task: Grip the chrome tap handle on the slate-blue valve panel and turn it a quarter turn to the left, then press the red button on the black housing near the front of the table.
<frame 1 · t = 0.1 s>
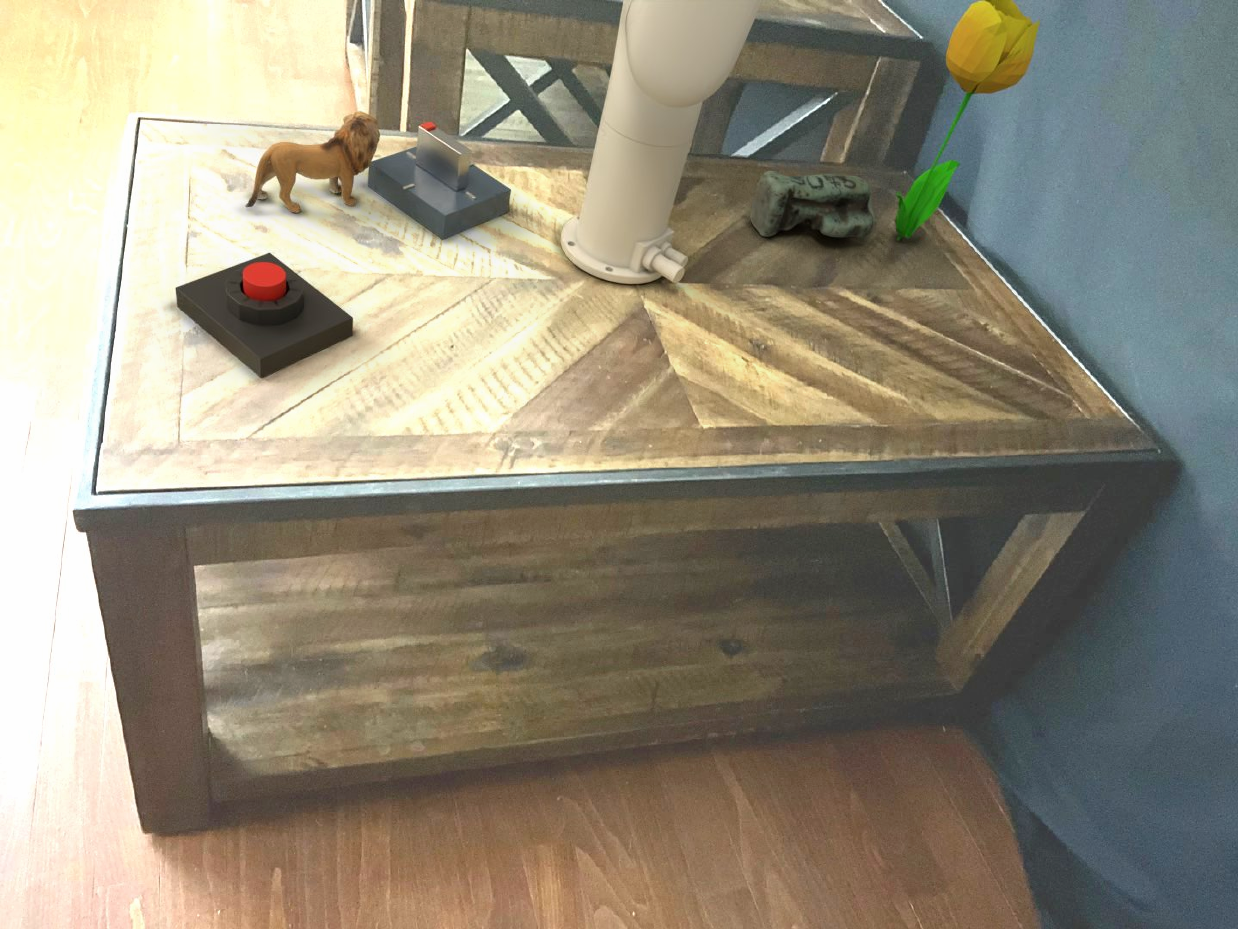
lion figurine: (315, 198, 109), on the table
red button: (264, 281, 90), point 4 cm above the table, slide at 0.1 cm
valve panel: (438, 199, 114), on the table
flower: (898, 241, 130), on the table
tap handle: (442, 155, 110), point 5 cm above the table, hinge at 0.0°
sculpture: (801, 230, 127), on the table
button box: (265, 321, 93), on the table
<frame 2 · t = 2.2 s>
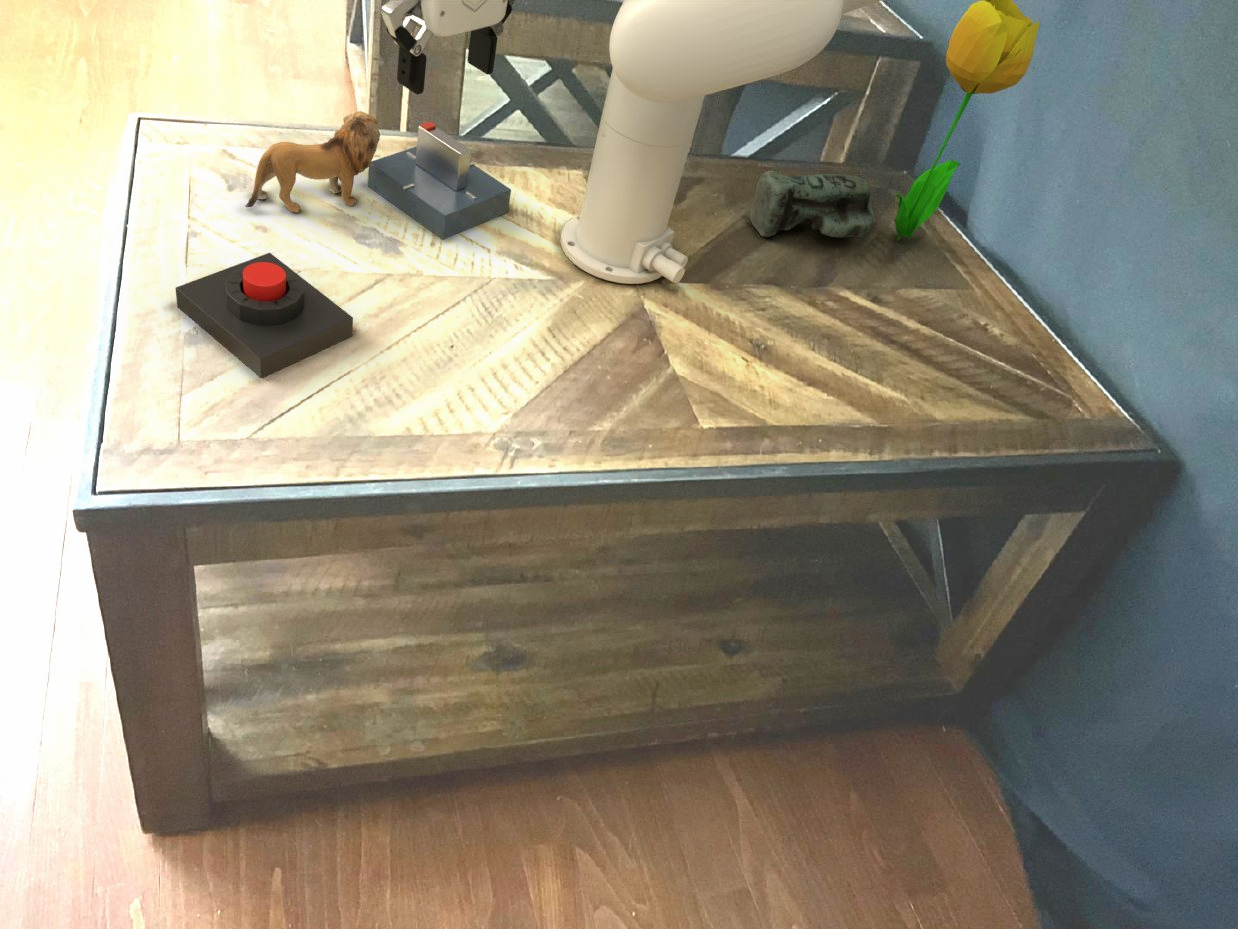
hand: (445, 77, 104), 14 cm above the table, tool pointing down, fingers open, 9 cm apart
nothing on the table moved.
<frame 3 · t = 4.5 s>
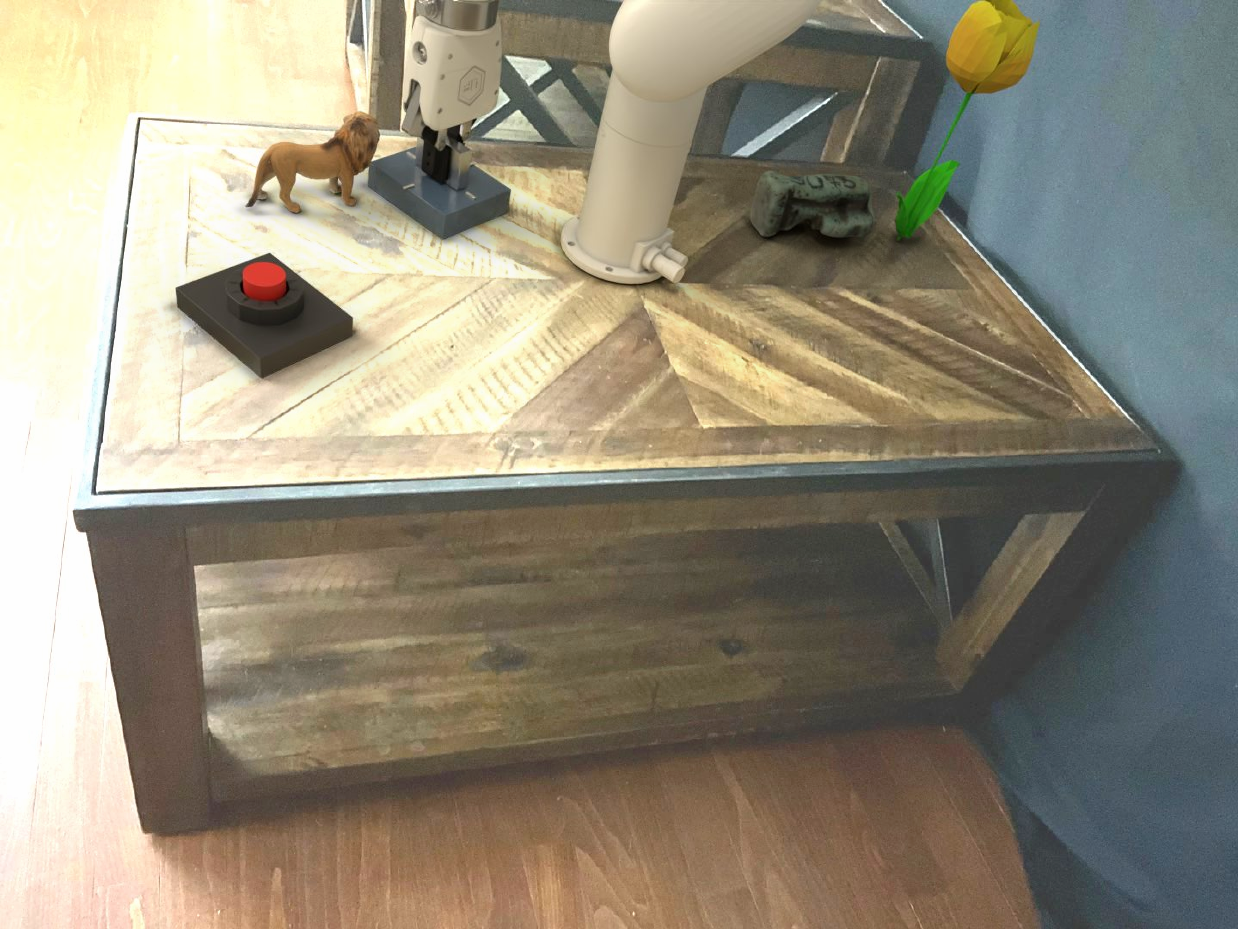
hand: (441, 172, 111), 3 cm above the table, tool pointing down, fingers closed on tap handle
tap handle: (442, 155, 110), point 5 cm above the table, hinge at 1.7°, touching gripper
everything else where it was.
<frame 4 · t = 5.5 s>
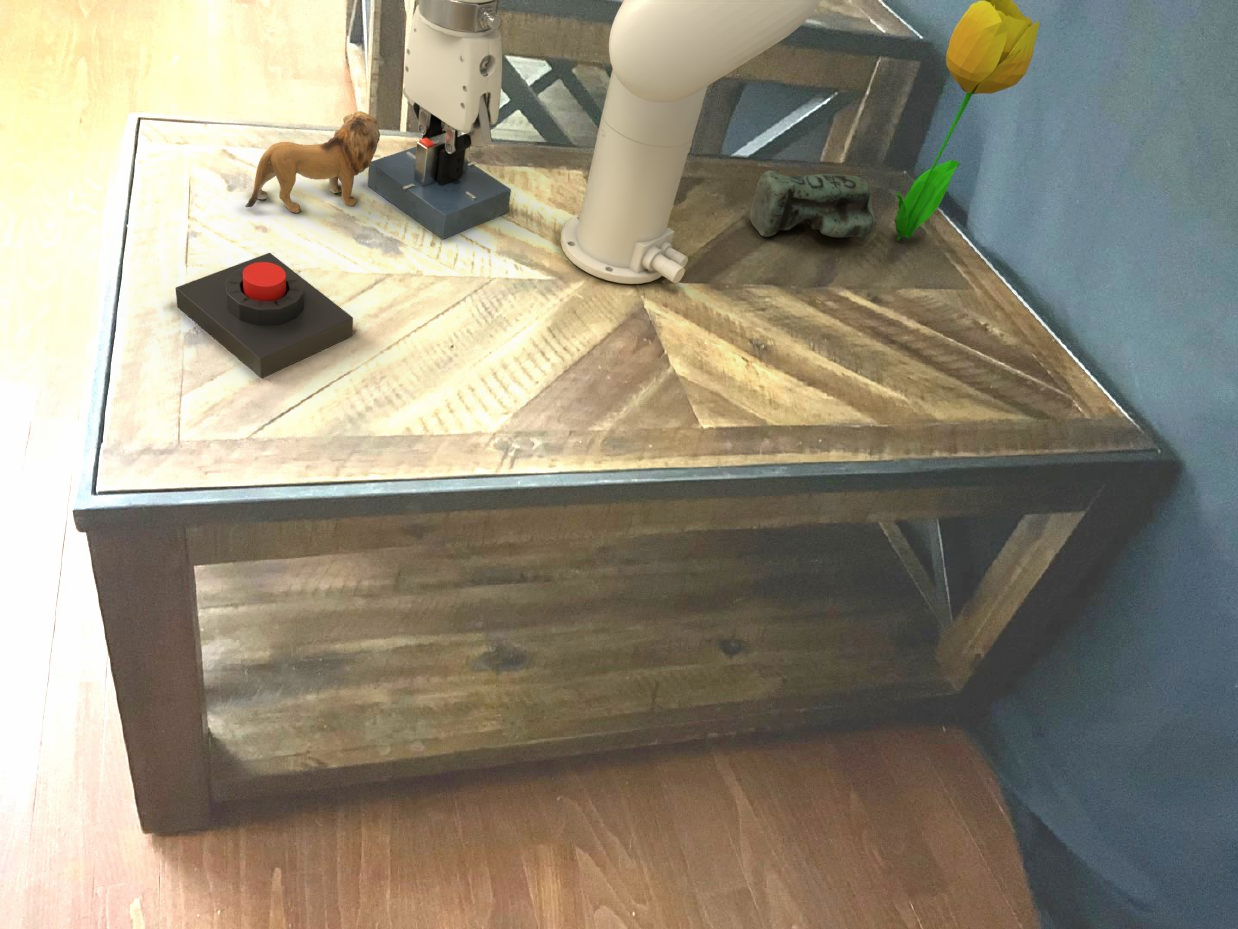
hand: (440, 172, 111), 3 cm above the table, tool pointing down, fingers closed
tap handle: (442, 155, 110), point 5 cm above the table, hinge at 89.4°
everything else where it was.
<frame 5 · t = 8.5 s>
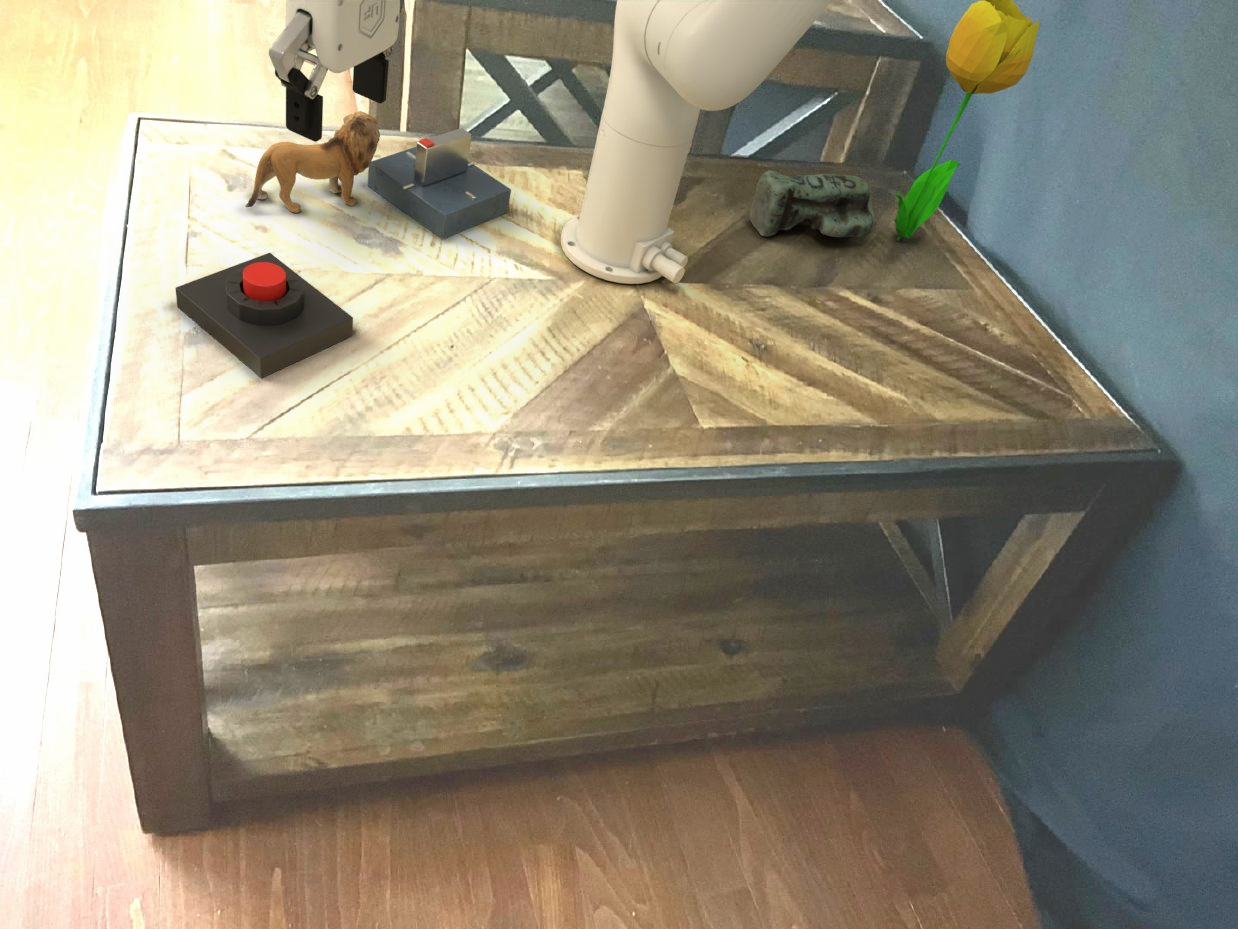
hand: (337, 115, 89), 17 cm above the table, tool pointing down, fingers open, 9 cm apart
nothing on the table moved.
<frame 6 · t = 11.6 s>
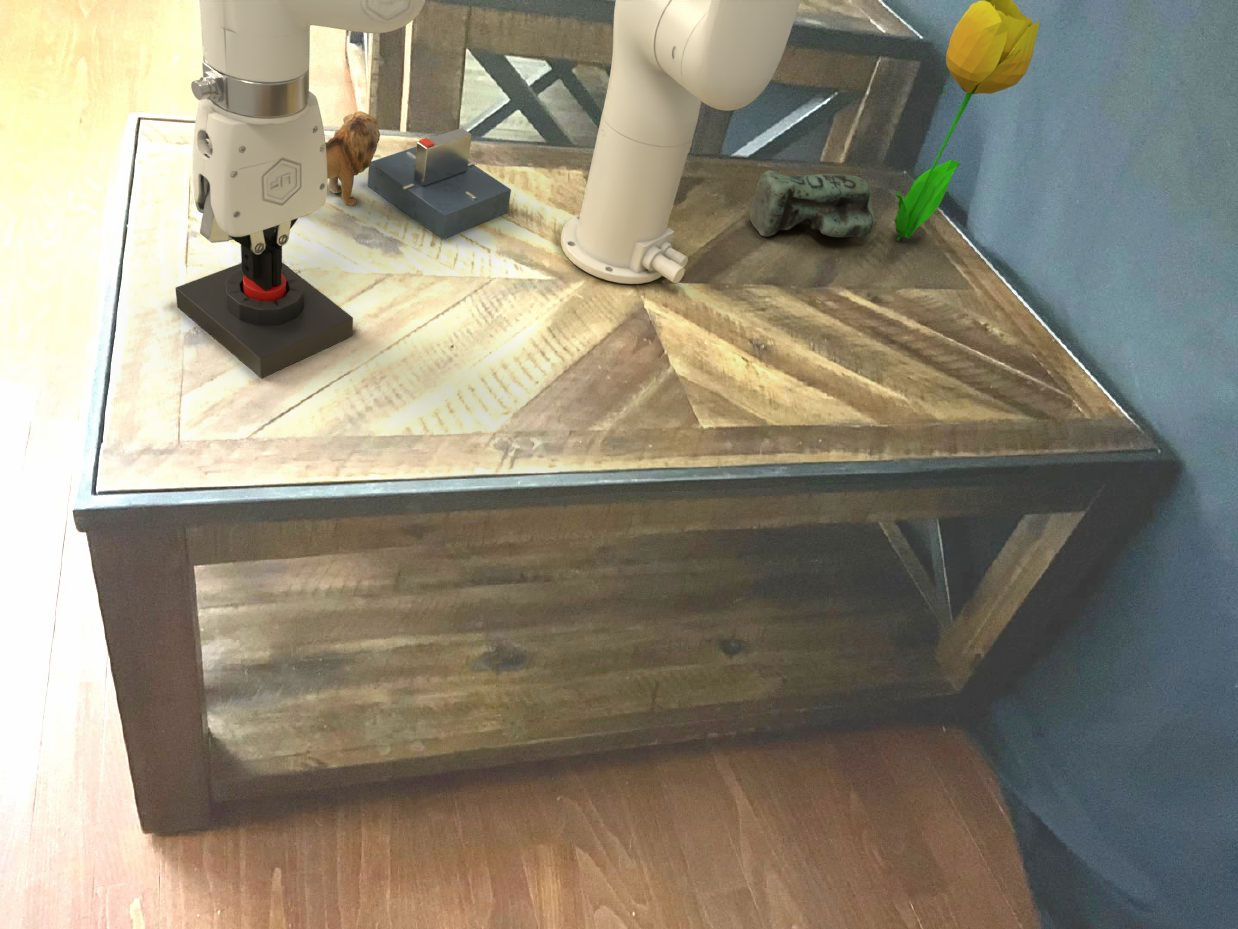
hand: (262, 279, 90), 5 cm above the table, tool pointing down, fingers closed
red button: (264, 287, 91), point 4 cm above the table, slide at -0.5 cm, touching gripper
everything else where it was.
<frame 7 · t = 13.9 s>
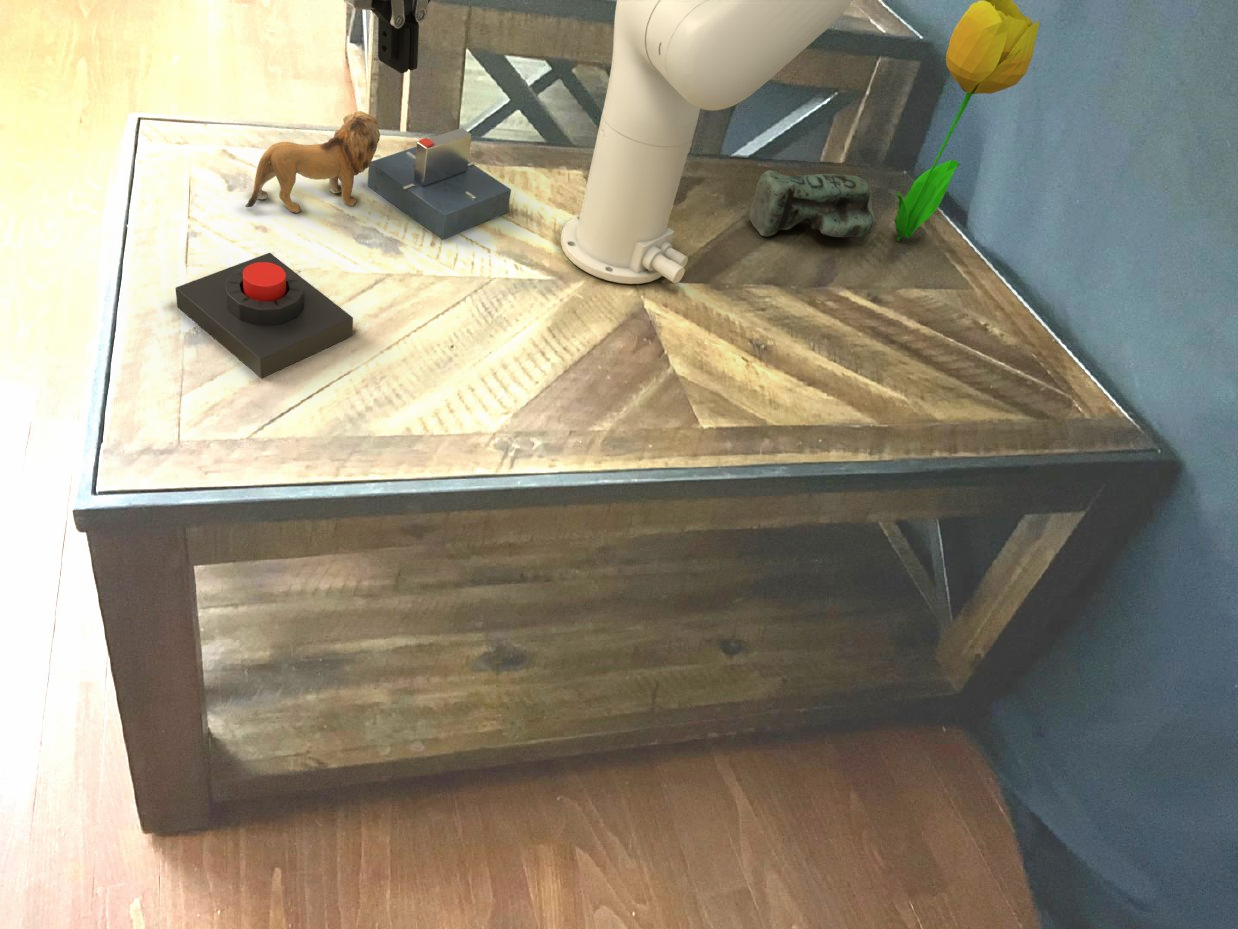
hand: (397, 64, 88), 21 cm above the table, tool pointing down, fingers closed
red button: (264, 281, 90), point 4 cm above the table, slide at 0.1 cm
everything else where it was.
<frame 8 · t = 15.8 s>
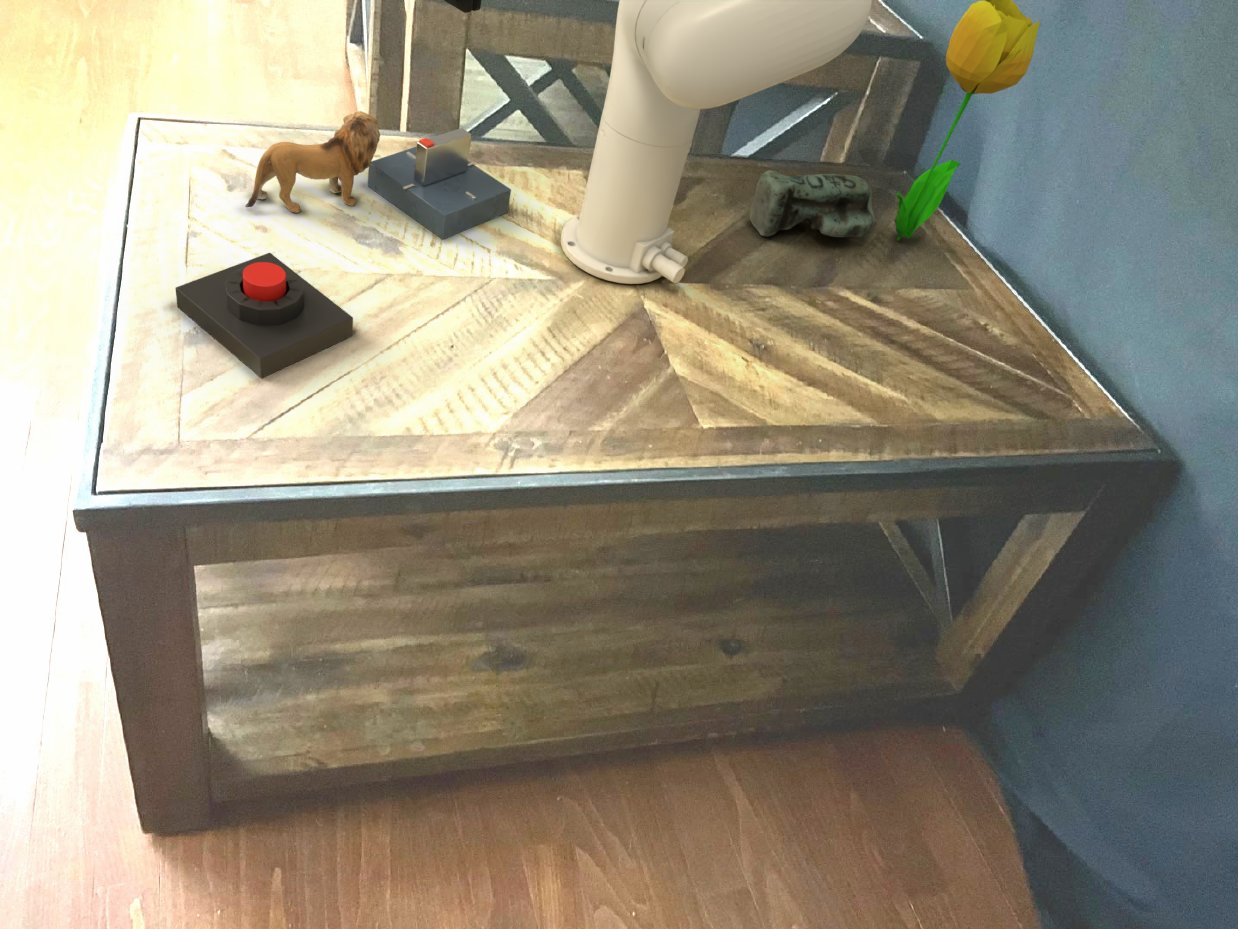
hand: (461, 4, 91), 25 cm above the table, tool pointing down, fingers closed
nothing on the table moved.
at the end: tap handle at +89° (first picture: +0°); red button pushed in 1.1 cm at the most during the clip, back to where it started at the end; red button slide at 0.1 cm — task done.
